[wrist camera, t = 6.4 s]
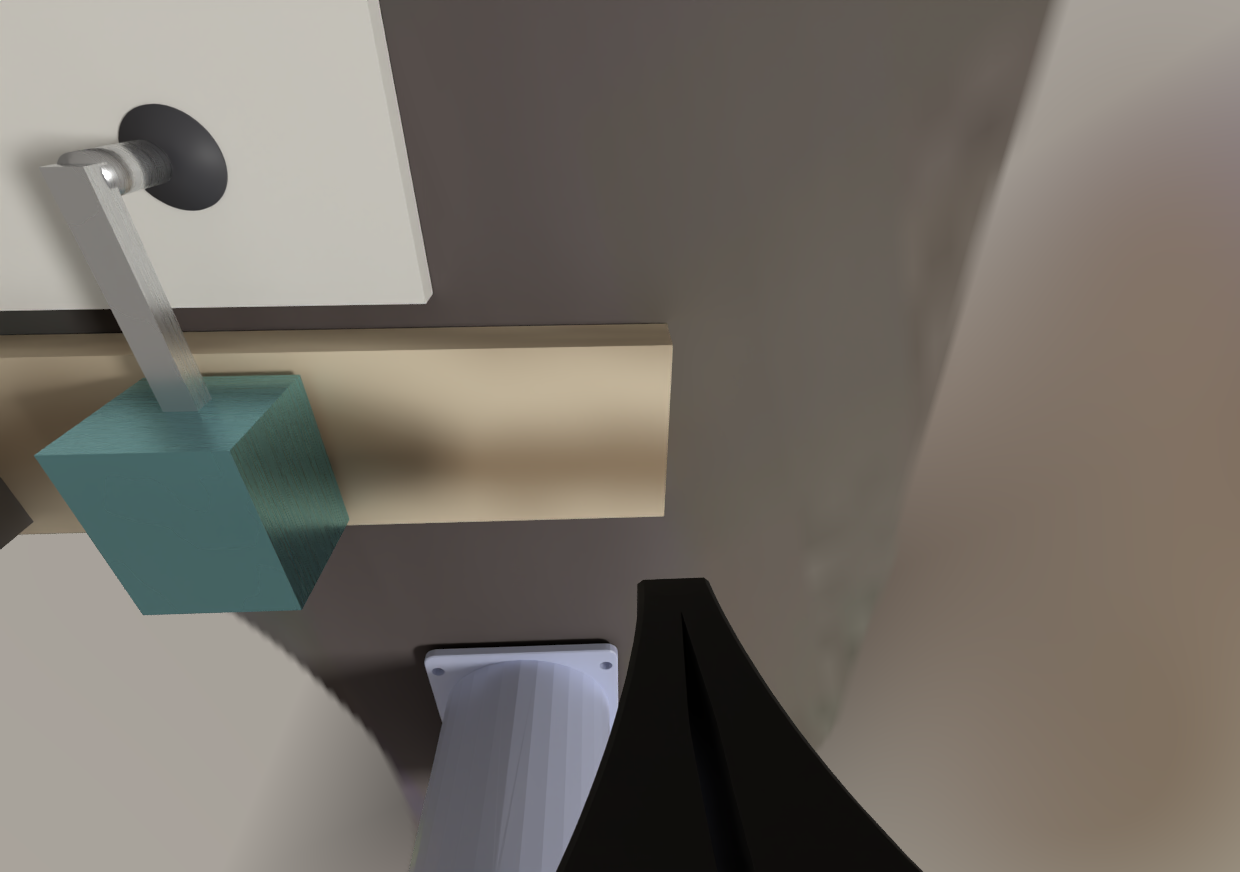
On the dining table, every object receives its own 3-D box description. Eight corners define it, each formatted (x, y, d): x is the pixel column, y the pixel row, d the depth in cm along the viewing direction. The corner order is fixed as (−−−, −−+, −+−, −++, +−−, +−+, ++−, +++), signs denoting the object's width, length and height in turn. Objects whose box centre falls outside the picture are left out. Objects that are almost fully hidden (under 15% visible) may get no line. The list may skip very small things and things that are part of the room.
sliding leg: (356, 506, 18) (301, 609, 15) (227, 510, 18) (142, 615, 15) (235, 138, 13) (101, 168, 9) (46, 140, 12) (-161, 171, 9)
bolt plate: (432, 293, 16) (424, 304, 15) (-253, 304, 15) (-295, 316, 15) (372, -33, 12) (358, -39, 11) (-546, -35, 11) (-623, -41, 11)
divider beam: (659, 487, 20) (677, 601, 16) (-62, 506, 19) (-244, 631, 15) (675, 130, 14) (710, 160, 10) (-374, 137, 13) (-824, 174, 9)
